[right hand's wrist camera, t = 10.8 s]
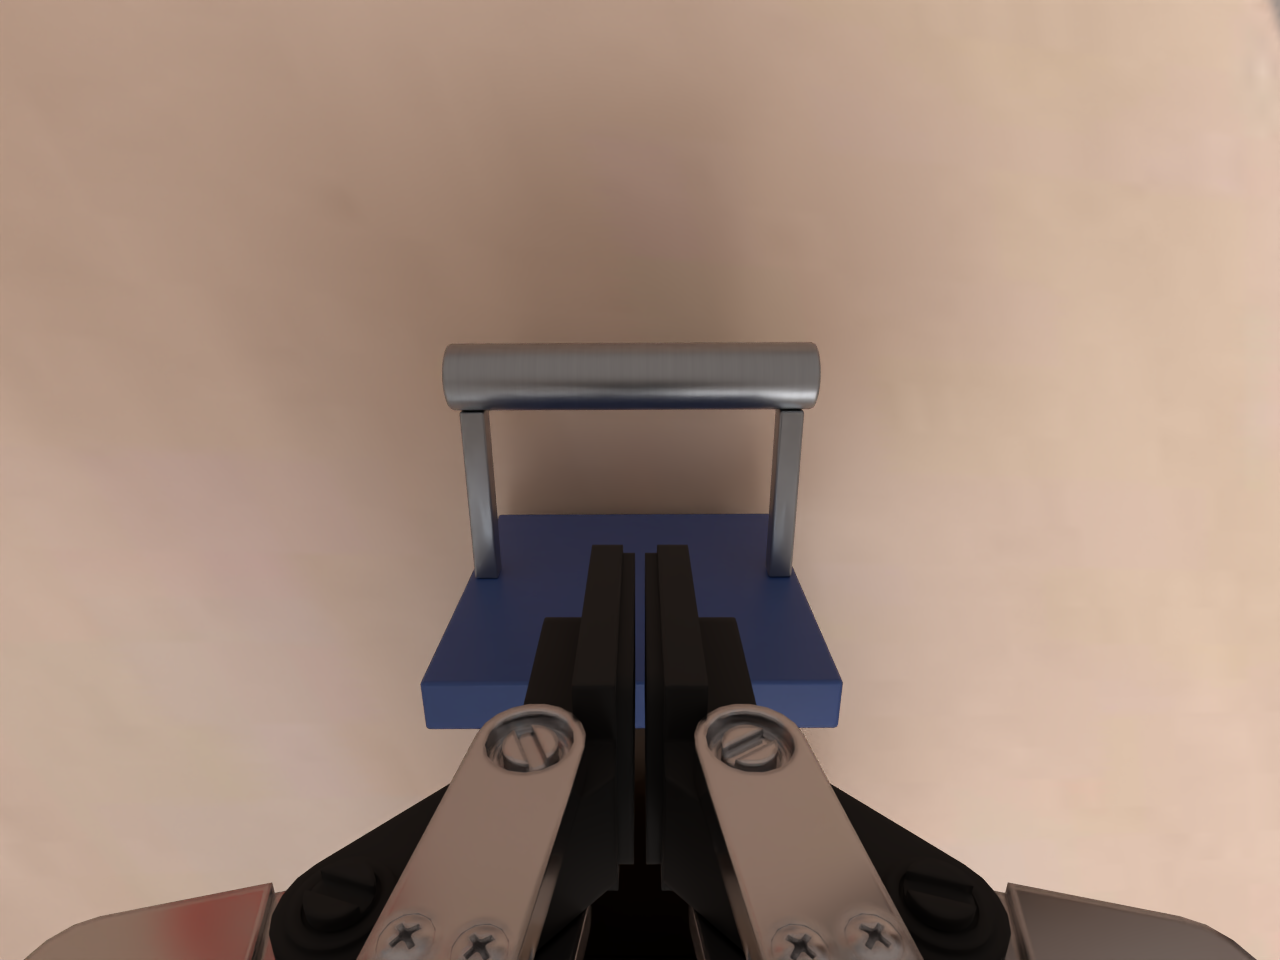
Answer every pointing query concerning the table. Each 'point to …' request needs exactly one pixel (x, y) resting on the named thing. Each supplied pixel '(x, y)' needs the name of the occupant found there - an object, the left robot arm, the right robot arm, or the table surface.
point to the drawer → (560, 554)
